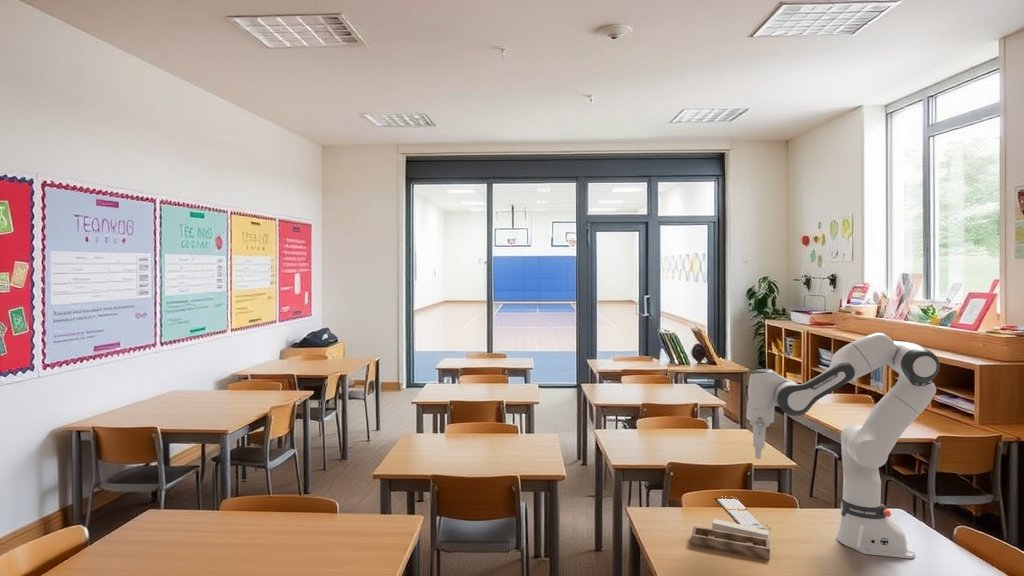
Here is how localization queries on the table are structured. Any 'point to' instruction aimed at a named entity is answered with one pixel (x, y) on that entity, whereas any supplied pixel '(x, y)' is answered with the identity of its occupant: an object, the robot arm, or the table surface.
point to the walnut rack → (731, 542)
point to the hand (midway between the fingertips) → (757, 454)
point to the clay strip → (739, 529)
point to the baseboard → (740, 513)
